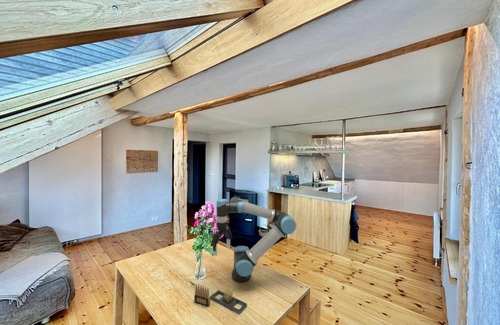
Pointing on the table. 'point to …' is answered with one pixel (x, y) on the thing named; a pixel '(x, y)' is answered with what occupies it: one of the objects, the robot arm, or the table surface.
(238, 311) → the grey slotted plate
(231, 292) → the block
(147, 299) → the table surface
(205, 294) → the ammunition clip
